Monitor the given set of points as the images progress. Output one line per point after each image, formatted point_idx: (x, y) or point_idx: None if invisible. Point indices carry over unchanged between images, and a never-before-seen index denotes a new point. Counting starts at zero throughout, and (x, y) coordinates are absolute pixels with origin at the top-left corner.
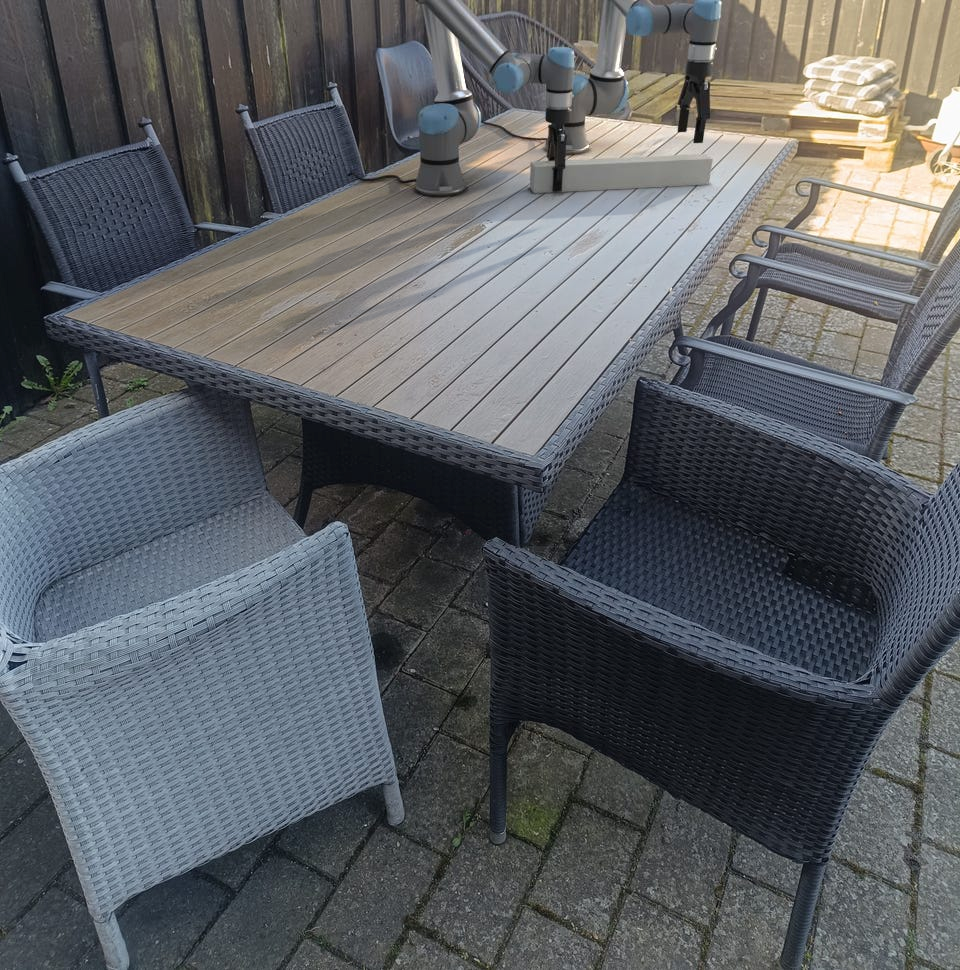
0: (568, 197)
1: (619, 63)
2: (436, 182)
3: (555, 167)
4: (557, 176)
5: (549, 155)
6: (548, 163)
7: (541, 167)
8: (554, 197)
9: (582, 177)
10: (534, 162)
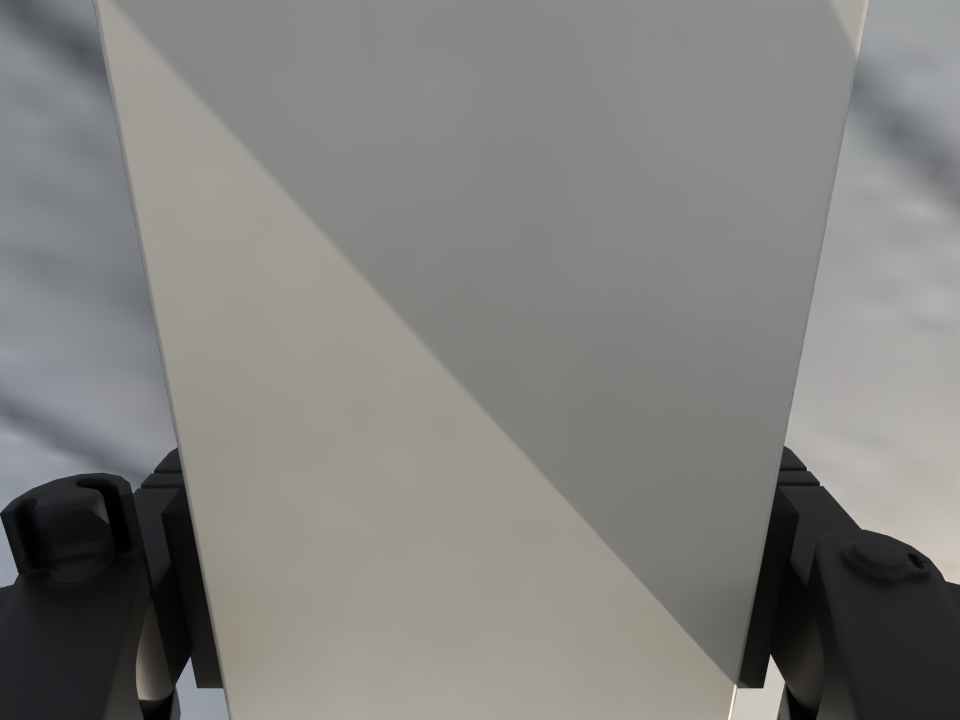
0: (114, 470)
1: None
2: None
3: (47, 573)
4: (142, 493)
5: (899, 680)
6: (480, 484)
7: (138, 189)
8: (107, 300)
9: None
10: (710, 43)
